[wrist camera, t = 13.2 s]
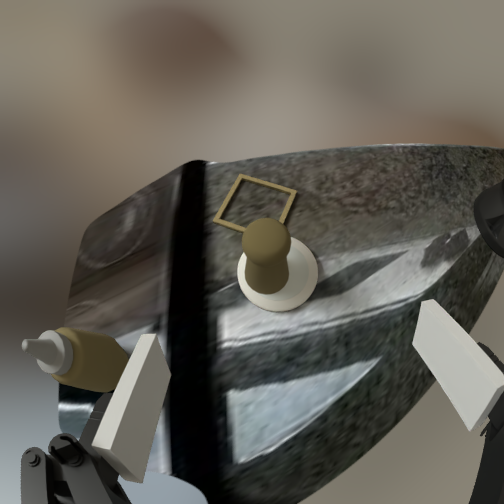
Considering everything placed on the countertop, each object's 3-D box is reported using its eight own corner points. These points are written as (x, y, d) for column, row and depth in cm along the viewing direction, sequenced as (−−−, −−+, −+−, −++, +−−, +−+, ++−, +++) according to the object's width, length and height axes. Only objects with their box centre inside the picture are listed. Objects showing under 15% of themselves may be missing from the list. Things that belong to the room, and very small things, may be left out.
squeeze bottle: (147, 357, 35) (67, 335, 19) (122, 403, 32) (34, 406, 16) (106, 328, 37) (24, 288, 21) (83, 370, 34) (-5, 352, 18)
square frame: (296, 193, 45) (296, 191, 45) (274, 244, 42) (274, 242, 41) (240, 176, 47) (239, 173, 47) (213, 223, 44) (212, 221, 43)
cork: (235, 267, 39) (225, 227, 29) (272, 245, 40) (274, 199, 30) (260, 303, 37) (257, 273, 27) (298, 278, 38) (308, 241, 28)
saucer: (326, 253, 41) (327, 249, 39) (301, 323, 36) (302, 322, 35) (256, 228, 43) (256, 224, 42) (225, 294, 39) (224, 291, 38)
